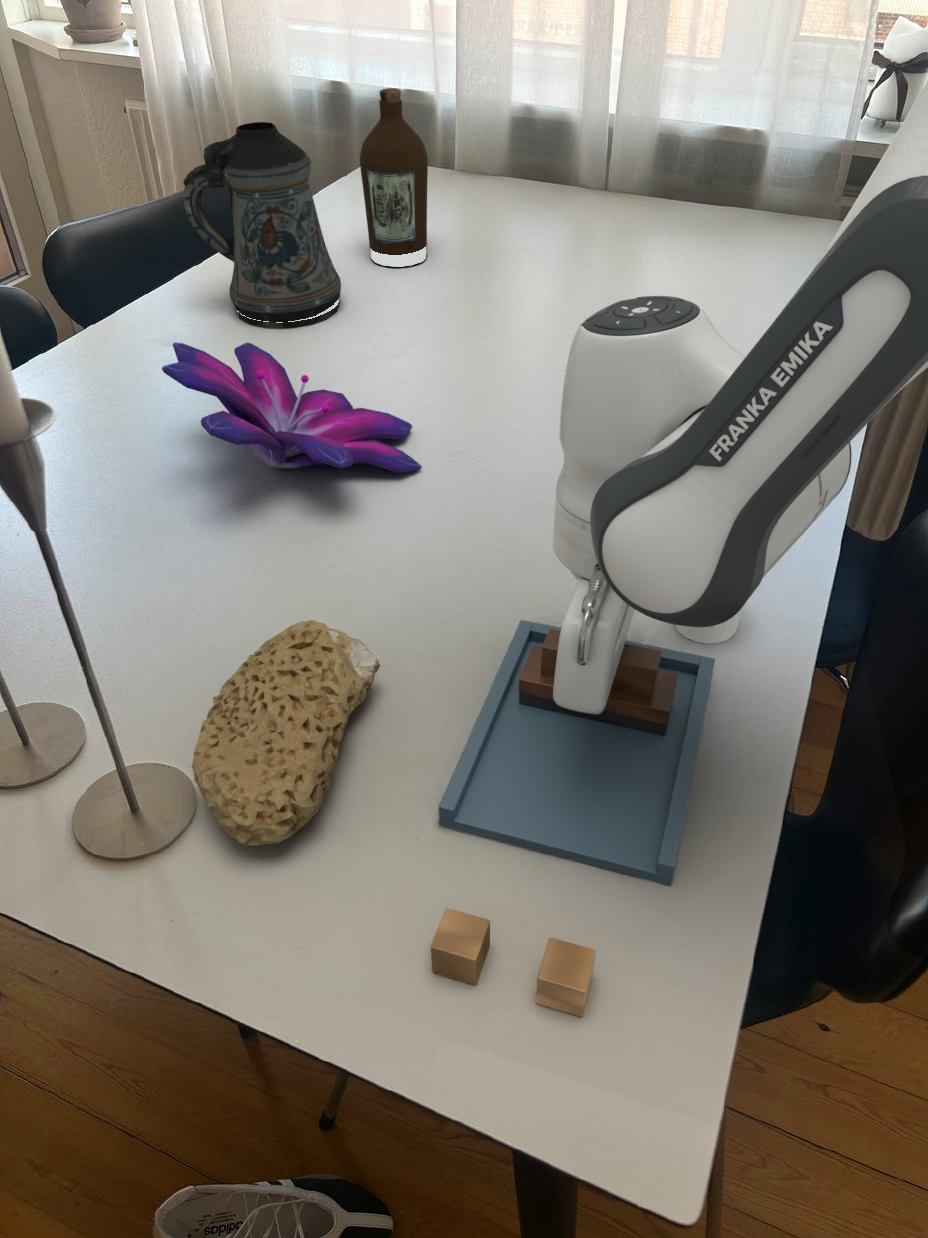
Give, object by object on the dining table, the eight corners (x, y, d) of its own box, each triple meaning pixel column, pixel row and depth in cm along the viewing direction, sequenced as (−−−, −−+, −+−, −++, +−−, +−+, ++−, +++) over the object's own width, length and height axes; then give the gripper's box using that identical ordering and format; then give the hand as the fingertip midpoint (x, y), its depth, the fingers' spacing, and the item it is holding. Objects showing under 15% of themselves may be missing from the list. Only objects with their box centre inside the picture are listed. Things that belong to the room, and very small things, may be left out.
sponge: (282, 667, 86) (122, 791, 70) (296, 595, 82) (128, 710, 66) (409, 736, 83) (271, 882, 67) (430, 664, 78) (288, 803, 62)
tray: (711, 677, 83) (715, 658, 81) (671, 886, 67) (675, 867, 65) (520, 637, 87) (520, 619, 85) (438, 825, 71) (438, 806, 69)
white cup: (712, 659, 84) (725, 596, 80) (651, 622, 88) (660, 560, 84) (758, 624, 88) (773, 562, 83) (697, 590, 92) (708, 529, 87)
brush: (673, 700, 79) (683, 646, 75) (664, 738, 76) (674, 683, 72) (531, 670, 82) (534, 616, 78) (517, 705, 79) (519, 651, 75)
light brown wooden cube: (592, 975, 62) (596, 949, 60) (582, 1018, 59) (585, 993, 57) (547, 962, 62) (549, 936, 60) (535, 1003, 60) (537, 978, 58)
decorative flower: (333, 417, 130) (358, 348, 125) (441, 547, 111) (476, 472, 106) (101, 377, 110) (121, 294, 106) (184, 526, 91) (213, 433, 87)
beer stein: (365, 307, 145) (350, 125, 129) (254, 346, 135) (224, 153, 119) (301, 278, 154) (280, 104, 138) (194, 312, 144) (158, 129, 128)
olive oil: (371, 246, 165) (360, 82, 149) (433, 247, 164) (428, 82, 148) (362, 269, 157) (349, 98, 141) (427, 270, 156) (421, 98, 140)
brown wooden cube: (490, 919, 61) (476, 961, 59) (490, 945, 63) (476, 986, 61) (445, 907, 62) (430, 947, 60) (446, 933, 64) (431, 972, 62)
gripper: (633, 629, 59) (613, 777, 68) (682, 464, 74) (661, 603, 83) (534, 609, 61) (527, 756, 70) (602, 451, 76) (589, 589, 85)
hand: (600, 672), depth 77 cm, fingers open, 7 cm apart
